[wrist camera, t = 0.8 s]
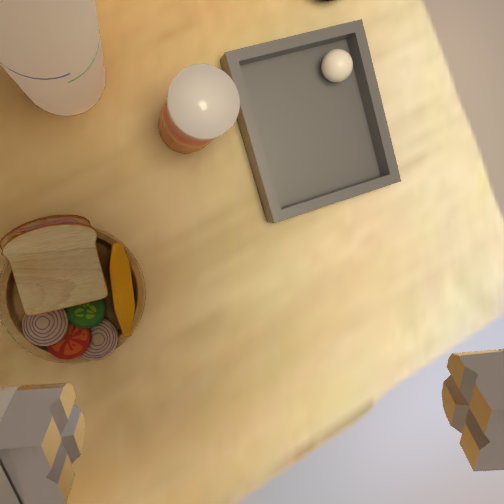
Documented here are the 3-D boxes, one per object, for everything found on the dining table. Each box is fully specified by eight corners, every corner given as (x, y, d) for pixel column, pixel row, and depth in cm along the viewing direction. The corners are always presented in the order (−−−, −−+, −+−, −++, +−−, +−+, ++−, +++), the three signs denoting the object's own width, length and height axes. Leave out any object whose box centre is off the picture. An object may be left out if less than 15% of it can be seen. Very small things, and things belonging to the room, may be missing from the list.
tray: (219, 60, 46) (225, 52, 43) (350, 28, 49) (361, 19, 46) (267, 222, 48) (274, 222, 46) (387, 182, 51) (400, 181, 49)
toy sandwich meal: (9, 369, 44) (-4, 387, 39) (-10, 219, 42) (-26, 221, 38) (150, 349, 47) (153, 364, 42) (137, 209, 45) (138, 209, 41)
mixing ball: (313, 58, 47) (325, 48, 44) (340, 51, 48) (354, 41, 45) (321, 88, 48) (333, 81, 45) (347, 81, 48) (361, 73, 45)
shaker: (149, 106, 44) (158, 73, 34) (203, 92, 45) (227, 56, 35) (167, 161, 45) (181, 146, 34) (219, 146, 46) (248, 127, 36)
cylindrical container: (6, 40, 41) (-162, -200, 17) (91, 25, 42) (48, -214, 18) (34, 124, 42) (-88, 11, 18) (115, 106, 44) (104, -19, 20)
